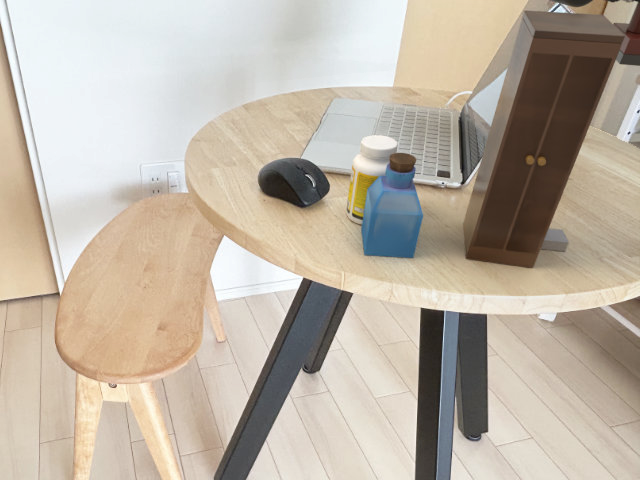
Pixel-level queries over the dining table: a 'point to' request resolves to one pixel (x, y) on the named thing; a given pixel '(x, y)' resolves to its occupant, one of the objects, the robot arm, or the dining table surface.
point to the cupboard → (537, 132)
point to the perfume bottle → (393, 211)
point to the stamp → (630, 40)
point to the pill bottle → (367, 172)
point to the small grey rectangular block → (555, 240)
